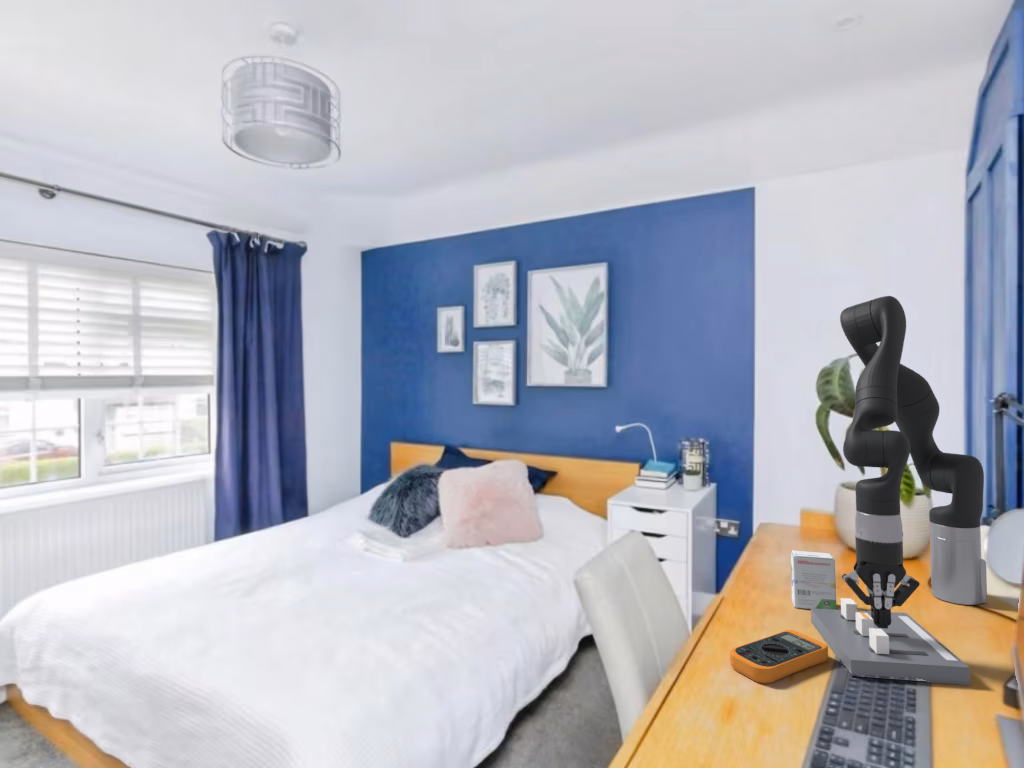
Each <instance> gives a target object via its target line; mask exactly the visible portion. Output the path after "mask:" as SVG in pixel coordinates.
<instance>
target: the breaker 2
mask: <svg viewBox="0 0 1024 768" xmlns="http://www.w3.org/2000/svg"><path fill="white" fill-rule="evenodd" d="M869 644H870V647H871V648H872V649H873V650H874V651H875V652H876V653H877V654H889V636H888V635H887V634H886V633H885V632H884V631H883V630H882V629H876V628H869Z"/></svg>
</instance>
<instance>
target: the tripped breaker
mask: <svg viewBox="0 0 1024 768" xmlns="http://www.w3.org/2000/svg"><path fill="white" fill-rule="evenodd" d="M855 613H856V629H857V630H858V632H859V633H860V634H861V635H862V636H869V628H874V619H873V618H872V617H871V616H870V615H869V614H868V613H861V612H855Z"/></svg>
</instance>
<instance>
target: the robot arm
mask: <svg viewBox="0 0 1024 768" xmlns="http://www.w3.org/2000/svg"><path fill="white" fill-rule="evenodd" d="M839 320H840V325H841V329H842V331H843V333H844V335H845V336H844V337H846V339H847V341H848V342H849V344H850V346H851V347H852V348H853V351H854V352H855V353H856V355H857V356H858V358H859V359H860V360H861V363H862V364H863V365H864V369H863V370H862V372H861V374H860V375H859V377H858V379H857V382H856V385H855V391H854V392H855V395H854V396H855V398H854V415H853V419H852V422H851V425H850V427H849V429H848V431H847V433H846V436H845V439H844V441H843V447H842V451H843V456H844V458H845V460H846V461H847V462H848V463H849V464H850V465H852V466H853V467H862V468H867V467H868V468H881V469H882V468H883V469H887V470H886V472H885V473H884V474H883V475H881V476H878V477H873V478H871V477H870V478H864V479H861V480H858V481H857V482H856V485H855V518H854V530H855V531H854V538H855V558H856V559H855V564H854V565H853V570H852V571H851V572H849V573H848V574H847V573H844V574H841V578H842V580H843V581H844V582H845V583H846V585H847V586H848V587H849V589H851V590H852V592H853V593H854V594H855V595H856V596H857V597H858V599H859V600H860V601H862V602H863V603H864V605H866V606H870V611H871V617H872V618H873V619H874V624H875V625H876V626H877V627H878V628H888V625H890V624H891V612H892V609H893V608H894V607H902V606H903V605H904V604H905V602H906V601H907V600H908V598H910V597H911V595H912V594H913V593H915V591H916V590H917V589H918V588H919V586H920V584H921V583H920V581H918V580H917V579H916V578H914V577H912V576H911V575H909V574H907V570H906V568H905V567H904V540H903V539H904V531H903V522H902V517H901V516H902V515H901V485H902V479H903V475H904V471H905V469H906V466H907V463H908V460H909V457H910V456H911V459H912V461H913V462H912V463H913V465H914V467H915V469H916V472H917V475H918V476H919V479H920V481H921V483H922V484H923V485H924V486H925V487H926V488H927V489H929V490H932V491H935V492H939V493H940V492H941V493H945V494H951V495H952V497H951V501H950V503H949V504H947V505H941V506H935V507H932V508H931V509H930V510H929V511H928V513H929V514H928V516H929V517H928V518H929V519H928V520H929V545H930V546H929V548H930V549H929V550H930V551H929V553H930V555H929V556H930V588H931V595H932V596H933V597H934V598H936V599H938V600H941V601H945V602H948V603H952V604H956V605H957V604H958V605H966V606H973V605H974V606H975V605H976V606H977V605H980V604H988V587H987V586H988V585H987V583H988V582H987V581H988V580H987V562H986V560H985V559H983V558H982V541H981V540H982V539H981V537H982V535H981V534H982V533H981V519H982V514H983V511H984V490H985V489H984V487H985V474H984V469H983V468H984V467H983V466H982V463H981V461H980V460H979V458H977V457H976V456H973V455H969V454H961V453H960V454H959V453H949V452H943V451H942V450H940V448H939V446H938V445H937V443H936V441H935V439H934V435H933V433H934V430H935V427H936V425H937V422H938V419H939V415H940V403H939V401H938V399H937V397H936V395H935V393H934V391H933V389H932V386H931V385H930V383H929V382H928V381H927V380H926V378H925V377H923V376H922V374H920V373H918V372H916V371H915V370H913V369H911V368H910V367H907V366H906V365H904V364H902V363H901V361H902V355H903V350H904V344H905V337H906V333H907V332H906V330H907V318H906V312H905V310H904V308H903V306H902V304H901V302H900V301H899V299H897V298H896V297H894V296H891V295H885V296H880V297H876V298H874V299H871V300H867V301H864V302H860V303H858V304H854V305H851V306H848V307H846V308H844V309H843V310H842V311H841V313H840V316H839ZM877 343H879V345H878V344H877ZM894 423H895V424H896V427H897V428H898V430H893V429H892V430H888V429H887V430H882V429H881V430H878V428H884V427H888V426H890V425H893V424H894ZM875 429H877V430H875ZM859 579H860V580H861V581H862V583H863V584H864V585H865V586H866V590H867V592H868V595H867V594H866V593H865V592H864V591H863V590H862V589H861V588H860V586H859V584H860V580H859ZM895 588H896V589H895Z"/></svg>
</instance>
